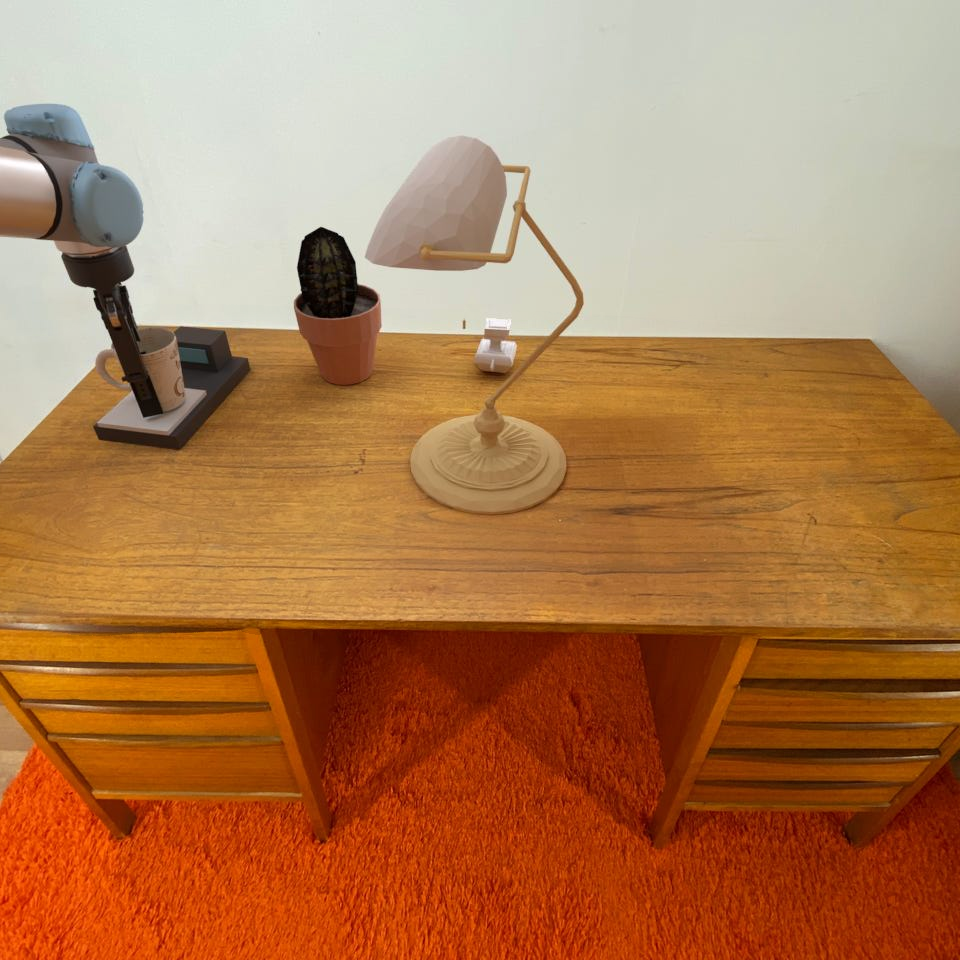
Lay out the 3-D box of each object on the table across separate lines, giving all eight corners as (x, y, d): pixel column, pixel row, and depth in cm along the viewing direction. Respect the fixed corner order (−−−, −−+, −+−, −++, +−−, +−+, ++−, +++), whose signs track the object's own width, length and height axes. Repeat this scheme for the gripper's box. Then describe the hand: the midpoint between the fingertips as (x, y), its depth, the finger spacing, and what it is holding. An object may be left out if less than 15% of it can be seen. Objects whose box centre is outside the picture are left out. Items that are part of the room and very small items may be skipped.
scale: (180, 450, 92) (164, 407, 88) (98, 439, 94) (78, 397, 89) (250, 370, 110) (241, 330, 105) (180, 362, 111) (168, 323, 107)
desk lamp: (425, 396, 104) (412, 120, 78) (567, 407, 102) (601, 128, 76) (381, 528, 81) (341, 196, 55) (564, 545, 79) (612, 210, 53)
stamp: (480, 353, 115) (481, 309, 110) (517, 356, 115) (519, 312, 109) (472, 378, 109) (472, 333, 103) (510, 382, 108) (513, 337, 102)
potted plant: (403, 366, 111) (392, 220, 95) (349, 402, 103) (328, 247, 86) (344, 345, 117) (325, 202, 101) (289, 377, 108) (258, 227, 92)
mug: (183, 417, 92) (162, 355, 86) (95, 416, 92) (68, 354, 86) (201, 386, 99) (183, 327, 92) (119, 385, 99) (96, 326, 92)
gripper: (129, 270, 75) (185, 430, 90) (122, 219, 88) (171, 366, 103) (57, 281, 72) (127, 444, 87) (60, 227, 85) (121, 376, 100)
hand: (151, 401), depth 95 cm, fingers closed on mug, 6 cm apart
